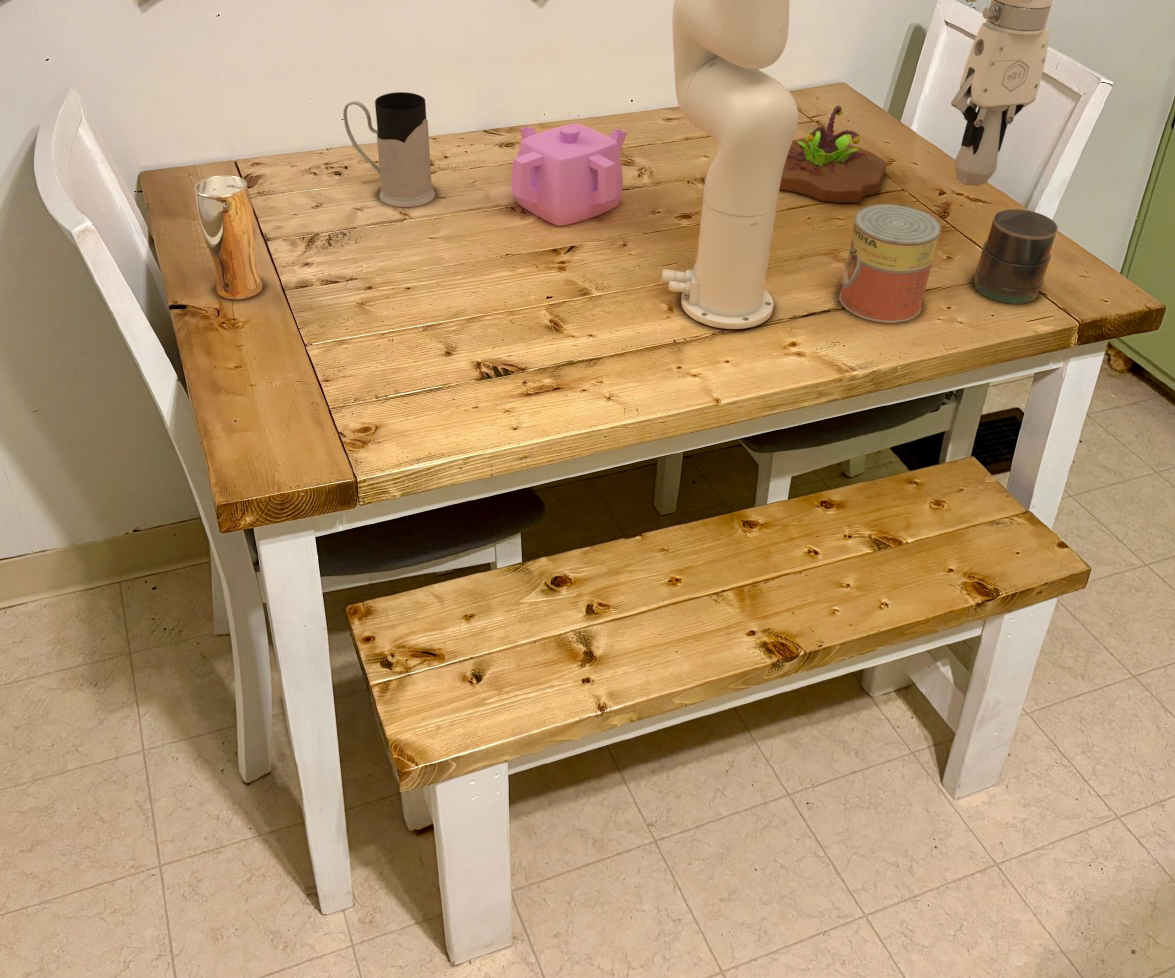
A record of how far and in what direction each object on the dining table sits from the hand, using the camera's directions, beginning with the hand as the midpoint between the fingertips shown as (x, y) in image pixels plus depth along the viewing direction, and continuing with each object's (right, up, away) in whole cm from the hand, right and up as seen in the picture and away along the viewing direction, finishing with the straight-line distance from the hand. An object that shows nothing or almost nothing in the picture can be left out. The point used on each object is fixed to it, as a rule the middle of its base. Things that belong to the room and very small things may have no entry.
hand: (980, 148), depth 160 cm
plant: (-16, +4, +29) cm, 34 cm away
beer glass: (-103, -21, -6) cm, 106 cm away
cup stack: (+4, -20, +1) cm, 20 cm away
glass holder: (-87, -1, +19) cm, 89 cm away
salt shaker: (0, -4, +3) cm, 5 cm away
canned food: (-15, -22, -3) cm, 27 cm away
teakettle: (-59, -3, +18) cm, 62 cm away
